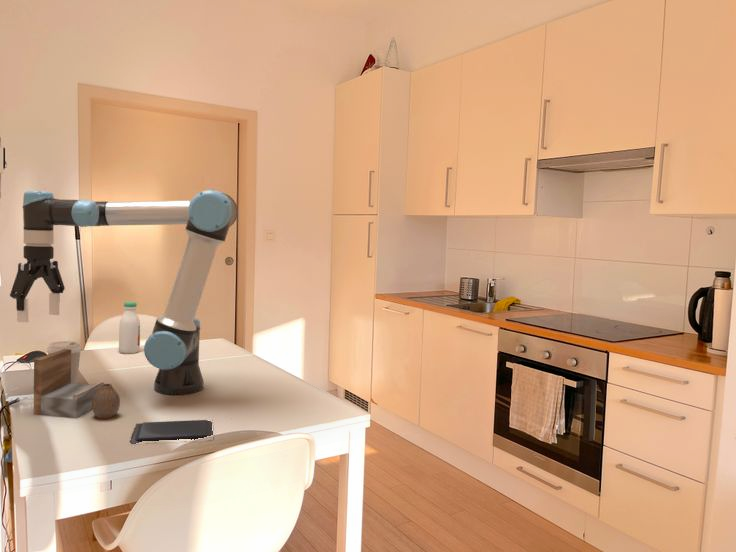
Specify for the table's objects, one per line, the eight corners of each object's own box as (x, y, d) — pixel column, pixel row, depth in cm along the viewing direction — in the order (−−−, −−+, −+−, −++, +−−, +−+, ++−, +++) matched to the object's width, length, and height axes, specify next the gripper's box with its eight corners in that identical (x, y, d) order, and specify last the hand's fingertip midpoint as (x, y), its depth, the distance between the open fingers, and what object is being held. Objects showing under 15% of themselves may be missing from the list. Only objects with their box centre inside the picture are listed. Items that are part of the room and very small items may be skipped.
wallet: (127, 440, 137) (136, 418, 151) (127, 447, 137) (136, 425, 151) (214, 436, 142) (214, 416, 156) (213, 444, 142) (214, 423, 156)
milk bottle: (134, 354, 225) (135, 304, 223) (115, 353, 225) (116, 303, 223) (142, 350, 232) (143, 301, 231) (123, 349, 233) (124, 300, 231)
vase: (101, 422, 150) (102, 389, 150) (86, 416, 154) (86, 384, 153) (125, 416, 156) (125, 384, 155) (109, 410, 160) (110, 379, 159)
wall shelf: (103, 402, 166) (104, 351, 165) (76, 417, 152) (77, 362, 151) (63, 399, 167) (64, 348, 165) (33, 414, 153) (34, 359, 152)
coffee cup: (66, 398, 168) (67, 348, 166) (38, 394, 169) (38, 345, 168) (88, 389, 177) (89, 342, 176) (61, 386, 179) (62, 339, 178)
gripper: (54, 243, 177) (54, 311, 179) (-6, 245, 152) (-5, 324, 154) (77, 244, 176) (77, 312, 178) (20, 247, 151) (21, 326, 153)
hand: (39, 318), depth 166 cm, fingers open, 13 cm apart
